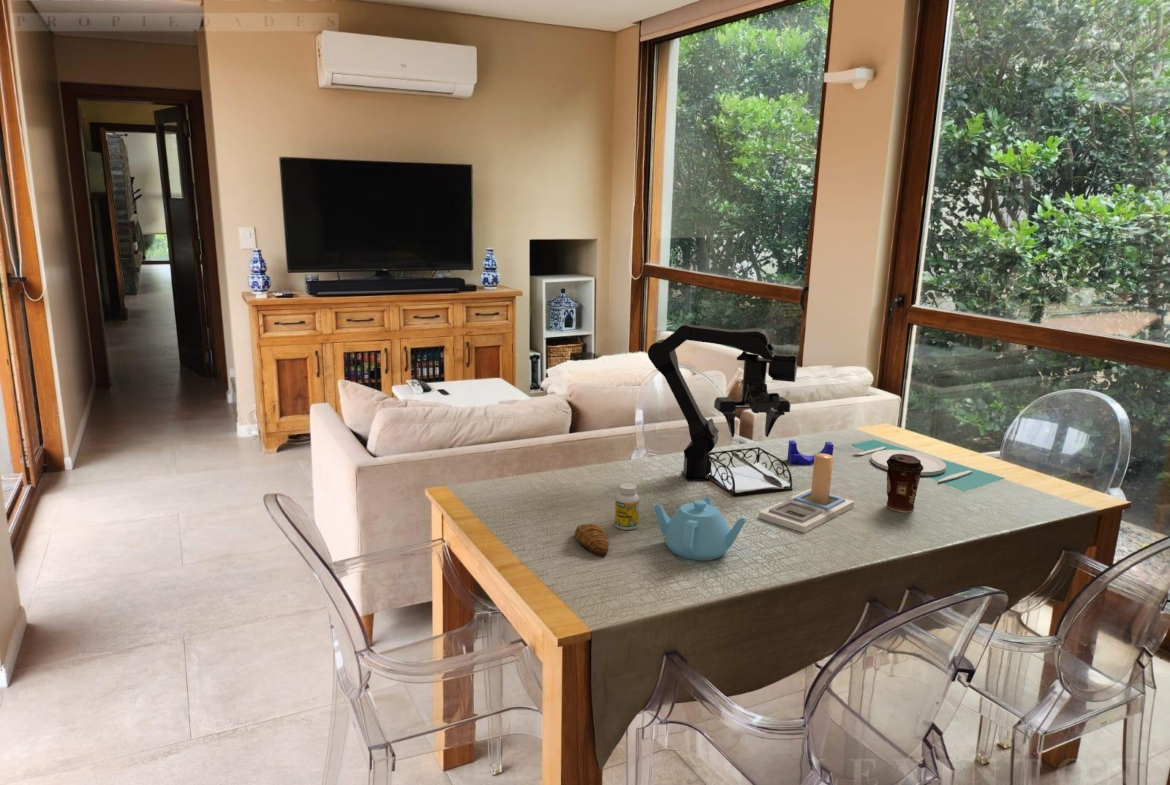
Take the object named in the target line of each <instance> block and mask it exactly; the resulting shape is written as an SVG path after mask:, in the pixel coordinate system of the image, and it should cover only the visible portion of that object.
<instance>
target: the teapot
mask: <svg viewBox="0 0 1170 785" xmlns="http://www.w3.org/2000/svg"><path fill="white" fill-rule="evenodd" d="M711 499H712V498H711V497H710V496H709V497H708V496H705V497H704V499H703V500H701V499H696V500H693V502H688V503H684V504H682V505H681V506H680V507H679V508H678V509H677V510H676V511H675V513H674V514H673V515H672V517H671V518H670V517H669V515H668V514H667V512H666V511H665V509H664V508H663V505H662V504H658V503H657V504H653V507H652V508H653V510H654V513H655V516H656V519H657V523H658V525H659V527H660V531H661V534H662V536H664V541H665V544H666V546H667V547H668V549H669V550H670V551H671V552H672V553H673V554H675V555H676V556H679V557H680V558H684V559H686V560H692V561H693V560H694V561H710V560H711V561H712V560H716V559H718V558H720V557H722V556H723V555H724V554H725V553H726V552H727V551H728V550H730V548H731V546H732V545H733V544H734V542H735V540H736V539H737V538H738V535H739V534H740V532H741V530H742V528H744V525H745V523H746V521H747V520H748V519H747V518H744V517H738V519H737V521H736V522H735V523H734V525H733V526H732V528H731V529H729V527H728V523H727V522H726V519H724V516H723V515H722V513H721V511H720V510H719V509H718V508H717V507H716V506H714V505H712V500H711Z"/></svg>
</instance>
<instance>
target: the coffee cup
mask: <svg viewBox="0 0 1170 785" xmlns="http://www.w3.org/2000/svg"><path fill="white" fill-rule="evenodd" d="M887 465H888V470H886V495H887V501H886V507H887V508H889V509H890V510H891V511H895V512H898V513H905V514H906V513H912V512H913V511H914V509H915V501H916V497H917V492H918V487H919V484H920V479H921V476H920V475H921V474H920V473H921V471H922V470H923V466H922V465H921V461H920V460H919V459H918V458H916V457H914V456H911V455H906V454H894V455H892V456H890V457H889V459H888V460H887Z"/></svg>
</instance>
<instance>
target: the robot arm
mask: <svg viewBox="0 0 1170 785" xmlns="http://www.w3.org/2000/svg"><path fill="white" fill-rule="evenodd" d="M770 340H771V336H770V334H769V332H768V331H767V330H765V329H764V328H759V327H757V328H756V327H755V328H742V329H729V328H728V329H727V328H720V327H719V328H718V327H713V326H712V327H711V326H705V325H703V326H702V325H695V324H691V323H684V324H682V325H680V326H679V327H678V328H677V330H675V331H674V332H672V334H669V336H667V337H666V338H664V339H663V338H662V339H659V340H656V342H654V343H653V344H651V345H650V346H649V347H648V351H647V357H648V359H649V361H650V362H651V363H652V365H653V366H654V367H655V368H656V370H657V371H658V372H659V373H660V374H662V375H663V377H664V378H665V381H666V382H667V384H668V386H669V389H670V391H671V393H672V394H673V396H674V399H675V400H676V402H677V404H678V407H679V409H680V410H681V413H682V414H683V417H684V418H685V421H686V423H687V426H688V432H689V437H690V441H689V443H688V444H687V446H686V448H685V449H684V450H683V454H684V455H683V456H684V457H683V470H681V475H682V477H684V479H685V480H686V481H708V480H707V478H705V476H706V475H707V474H709V473H712V460H711V459H710V457H711V456H710V454H709V453H710V452H711V451H713V449H714V448H715V446H716V445H717V443H718V441H719V433H720V430H719V429H718V428H717V427H716V425H715V423H714V420H713V418H710V419H707V418H705V416H704V415H703V414H702V412H701V410H700V408H699V406H698V403H697V402H696V400H695V398H694V396H693V394H692V392H691V390H690V387H689V386H688V384H687V382H686V380H685V378H684V376H683V374H682V372H681V370H680V366H679V361H678V355H677V352H676V349H677V348H679V347H680V346H681V345H682V344H683V343H684V344H685V342H686V341H692V342H700V343H707V344H708V343H709V344H716V345H722V346H730V347H732V348H736V349H738V350H741V351H742V353H741V354H739V355H738V356H737V357H736V361H743V375H742V379H741V382H740V383H741V385H742V386H741V387H742V388H741V394H740V395H739V400H734V399H733V398H731V397H728V396H721V397H719V396H718V397H716V398H715V399H714V404H713V407H714V408H715V409H716V410H717V411H718V412H720V413H721V414H722V415H723V416H724V417H725V421H726V424H727V426H728V430H729V434H730V436H731V437H732V438H734V437H735V433H736V432H735V431H736V428H735V425H736V422H735V418H736V416H737V413H736V412H734V411H736V409H750V410H751V412H752V413H754V414H760V413H763V414H766V415H765V424H764V425H765V426H764V434H765V437H766V438H768V437H769V435H770V434H771V431H772V429H773V428H774V425H775V423H776V422H777V420H778V419H779V418H780V417H781V416H785V415H786V413H790V412H791V402H790V401H789V400H788V399H786V398H784V397H783V396H780V394H779V392H770V393H769V392H768V385H767V383H766V382H767V381H766V378H767V375H768V376H769V377H770V378H771V380H772V381H778V382H779V381H780V382H791V383H796V379H797V372H798V366H797V355H796V354H780V353H779V354H778V353H777V351H776V350H775V348H774V346H773V345H772V344H771V342H770ZM767 366H768V367H767ZM767 368H768V372H767ZM767 373H768V374H767Z"/></svg>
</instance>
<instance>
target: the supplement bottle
mask: <svg viewBox="0 0 1170 785" xmlns="http://www.w3.org/2000/svg"><path fill="white" fill-rule="evenodd" d="M637 487H638V486H637V485H636V484H634V483H630V482H629V483H626V482H624V483H621V484H619V486H618V493H617V494H616V495H615V505H614V507H615V510H614V526H615V527H616V528H618V529H620V530H623V531H624V530H625V531H631V530H635V529H637V528H638V527H639V519H640V518H639V516H640V496H639V495H638V494H637Z"/></svg>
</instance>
